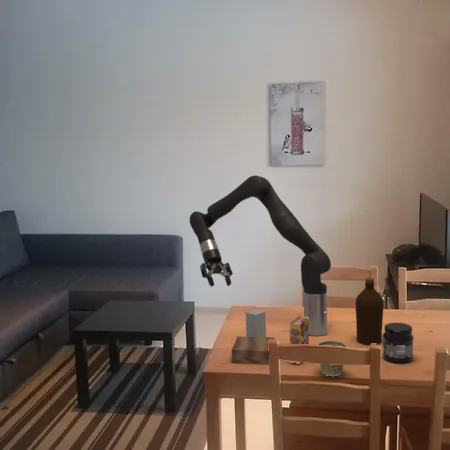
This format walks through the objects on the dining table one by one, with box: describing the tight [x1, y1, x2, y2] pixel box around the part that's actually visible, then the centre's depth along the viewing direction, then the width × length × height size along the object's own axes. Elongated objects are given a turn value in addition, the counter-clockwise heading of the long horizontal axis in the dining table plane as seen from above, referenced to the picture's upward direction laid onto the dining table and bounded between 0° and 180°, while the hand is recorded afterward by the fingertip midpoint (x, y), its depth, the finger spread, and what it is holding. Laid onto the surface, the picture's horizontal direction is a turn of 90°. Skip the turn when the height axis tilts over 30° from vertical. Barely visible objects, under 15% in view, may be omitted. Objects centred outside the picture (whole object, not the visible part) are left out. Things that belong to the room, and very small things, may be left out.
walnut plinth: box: [231, 335, 275, 365], centre depth 226 cm, size 14×14×5 cm
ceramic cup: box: [316, 340, 348, 376], centre depth 207 cm, size 13×10×10 cm
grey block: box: [245, 308, 267, 337], centre depth 241 cm, size 6×6×12 cm
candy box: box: [289, 315, 310, 363], centre depth 220 cm, size 9×4×15 cm, turn 151°
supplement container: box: [382, 322, 414, 364], centre depth 219 cm, size 10×10×12 cm
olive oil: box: [354, 277, 385, 346], centre depth 236 cm, size 11×11×25 cm
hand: (221, 285), depth 258 cm, fingers open, 8 cm apart
